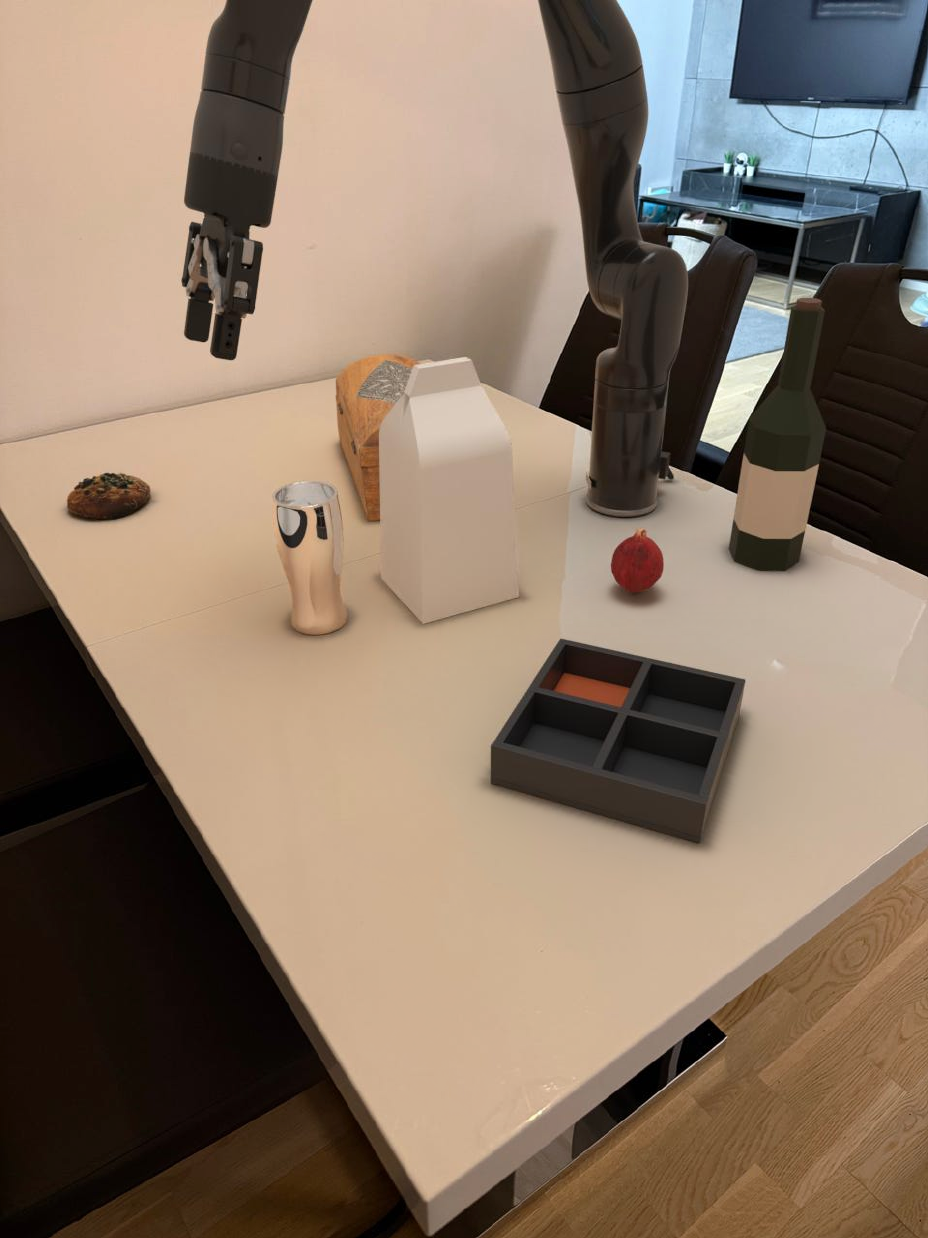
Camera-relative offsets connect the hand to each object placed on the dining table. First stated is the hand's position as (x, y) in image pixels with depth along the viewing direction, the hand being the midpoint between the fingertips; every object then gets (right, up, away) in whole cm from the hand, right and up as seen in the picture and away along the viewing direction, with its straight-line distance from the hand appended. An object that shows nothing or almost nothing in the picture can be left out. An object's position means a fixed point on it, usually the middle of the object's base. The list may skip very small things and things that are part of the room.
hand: (208, 349), depth 85 cm
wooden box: (+15, -4, +49) cm, 52 cm away
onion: (+43, -22, +19) cm, 52 cm away
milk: (+22, -22, +21) cm, 37 cm away
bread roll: (-25, -9, +42) cm, 50 cm away
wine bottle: (+60, -17, +26) cm, 68 cm away
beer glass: (+8, -25, +15) cm, 30 cm away
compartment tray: (+38, -36, -4) cm, 53 cm away
